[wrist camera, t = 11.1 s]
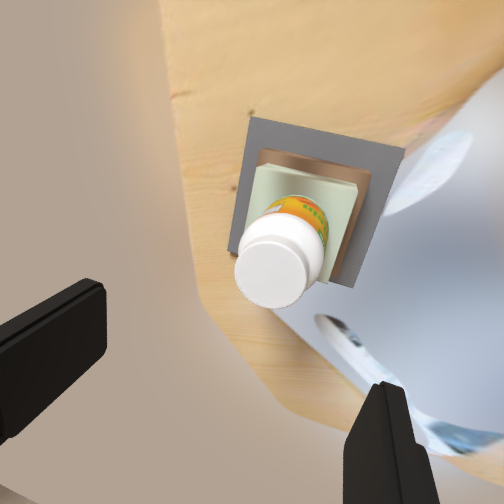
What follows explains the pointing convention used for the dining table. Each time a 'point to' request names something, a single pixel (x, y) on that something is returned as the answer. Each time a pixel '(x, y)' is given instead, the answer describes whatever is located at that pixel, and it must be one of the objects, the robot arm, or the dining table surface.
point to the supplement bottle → (282, 252)
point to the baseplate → (330, 149)
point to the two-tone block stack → (312, 195)
